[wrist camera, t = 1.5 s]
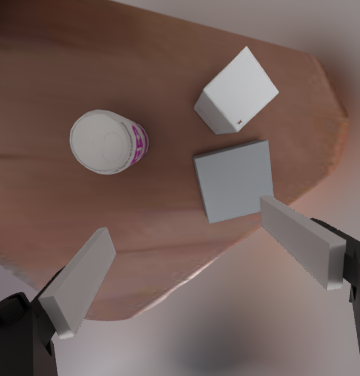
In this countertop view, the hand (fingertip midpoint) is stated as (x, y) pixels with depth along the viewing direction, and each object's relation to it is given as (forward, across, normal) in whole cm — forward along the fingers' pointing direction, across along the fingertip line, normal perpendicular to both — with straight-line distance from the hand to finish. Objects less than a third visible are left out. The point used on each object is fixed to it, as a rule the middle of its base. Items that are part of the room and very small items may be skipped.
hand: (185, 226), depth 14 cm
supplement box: (+24, +10, +11) cm, 28 cm away
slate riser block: (+24, +11, -4) cm, 27 cm away
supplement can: (+24, -9, +8) cm, 27 cm away
